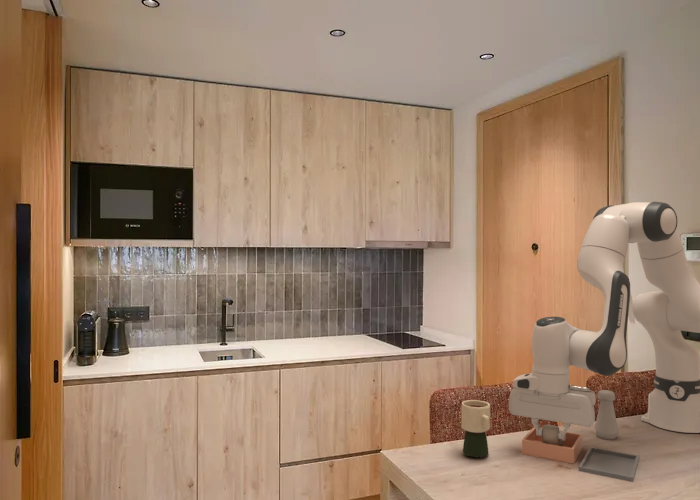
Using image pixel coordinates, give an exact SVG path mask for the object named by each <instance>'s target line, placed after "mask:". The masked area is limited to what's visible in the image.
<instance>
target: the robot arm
mask: <svg viewBox="0 0 700 500" xmlns="http://www.w3.org/2000/svg"><path fill="white" fill-rule="evenodd" d="M635 243H637V249H638V253H639V257H640V260H641V265H642V269H643V271H644V275H645V278H646V279H647V281H648V282H649V283H650V284H651V285H652V286H654V287H656V288H658V289H660V290H659V291H658V290H655V291H647V292H641V293H639V294H638V295H637V296H636V297H635V298H634V300H633V303H632V306H631V307H632V308H631V310H632V314H633V316H634V317H633V318H634V319H635V320H636V321H637V322H639V324H640V325H641V326H642V327H643V328H644V329H645V330H646V331H647V333H648V334H649V338H650V339H651V342H652V344H653V348H654V355H655V375H654V378H653V386H654V389H653V390H652V391H650V393H648V399H647V400H648V403H647V404H648V405H647V412H646V413H644V414H643V415H641V418H640V420H641V421H643V422H646V423H648V424H651V425H653V426H655V427H657V428H660V429H664V430H667V431H671V432H679V433H688V434H689V433H691V434H696V433H697V434H698V433H700V353H699V351H698V349H697V348H696V347H695V346H693V345H692V344H690V343H689V342H688V341H686V340H685V338H684V336H683V333H682V331H683V332H689V333H690V332H691V333H697V334H700V283H699V281H698V280H697V279H696V277H695V276H694V275H693V273H692V270H691V269H690V268H691V267H690V265H689V262H688V259H687V256H686V253H685V249H684V246H683V242H682V240H681V236H680V233H679V232H678V216H677V213H676V211H675V209H674V208H673V207H672V206H671V205H670V204H668V203H666V202H662V201H651V202H648V201H647V202H645V201H643V202H642V201H636V202H635V201H633V202H629V203H623V204H617V205H612V204H611V205H606V206H604V207H601V208H600V209H598V210H597V211H596V213H595V214H594V216H593V218H592V221H591V222H590V224H589V226H588V228H587V230H586V232H585V235H584V237H583V241H582V243H581V247H580V248H579V252H578V255H577V260H576V269H577V272H578V274H579V275H580V277H581V279H583V280H584V281H585V282H586V283H588V284H589V285H591V286H593V287H594V288H596V289H598V290H599V291H601V293H602V294H603V296H604V308H603V315H602V316H603V317H602V324H601V329H600V330H599V331H591V330H587V329H586V330H585V329H583V328H582V329H581V328H578V327H575V326H573V325H572V324H570V323H569V322H568V321H567V319H566V318H564V317H561V316H546V317H541V318H539V319H538V320H536V321H535V323H534V326H533V331H532V336H531V337H532V338H531V353H532V357H533V363H532V367H531V368H532V369H531V372H530V373H525V374H520V375H518V376H516V377H515V378H514V379H513V381H512V385H513V388H512V389H511V391H510V394H509V398H508V399H509V400H508V412H509V413H510V414H511V416H512V415H513V416H518V417H525V418H531V420H530V421H531V424H532V426H533V427H535V429H536V436H540V437H542V427H541V426H540V425H539V421H540V420H544V421H549V422H554V423H555V422H556V423H562V427H563V428H564V429H563V430H559V433H558V436H559V437H558V440H562V441H565V440H566V432H568V431H569V429H570V427H571V425H574V426H580V427H587V428H591V427H592V426H593V425H594V424H595V423H596V414H595V405H596V401H597V398H596V397H597V395H596V393H595V391H594V390H593V389H592V388H591V389H590V387H588V386H579V385H575V384H570V380H571V379H570V378H571V377H570V376H571V373H570V367H569V366H572V367H575V368H579V369H582V370H588V371H591V372H593V373H596V374H599V375H601V376H605V377H610V376H613V375H615V374H616V373H618V372H619V371H621V369H623V367H624V366H625V365H626V363H627V358H628V349H627V331H628V320H629V311H630V310H629V309H630V302H631V301H630V300H631V282H630V281H631V280H630V279H629V276H628V275H626V274H625V270H624V269H625V268H624V267H625V260H626V255H627V251H628V246H629V244H635ZM562 431H563V432H562Z"/></svg>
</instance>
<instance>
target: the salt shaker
mask: <svg viewBox="0 0 700 500" xmlns="http://www.w3.org/2000/svg"><path fill="white" fill-rule="evenodd" d="M597 398H598V400H599V401H600V402H599V406H598V412H597V416H596V419H595V426H594V430H595V433H596V435H597V438H598V437H599V438H600V439H603V440H615V439H616V438H617V437H618V435H619V426H618V421H617V418H616V416H617V415H616V412H615V407H614V401H615V400H616V394H615V392H614V391H612V390H607V389H600V390H599V391H597Z"/></svg>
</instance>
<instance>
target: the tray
mask: <svg viewBox="0 0 700 500" xmlns="http://www.w3.org/2000/svg"><path fill="white" fill-rule="evenodd" d="M639 462H640V455H638V454H637V455H636V454H633V453H632V454H631V453H627V452H621V451H617V450H609V449H604V448H600V447H593V446H589V447H588V449H587V451H586V453H585V454H584V456H583V458H582V460H581V462H580V463H579V465H578V472H583V473H587V474H592V475H598V476H602V477H607V478H612V479H617V480H621V481H627V482H631V483H634V479H635V476H636V472H637V469H638V465H639Z"/></svg>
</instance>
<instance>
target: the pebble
mask: <svg viewBox="0 0 700 500" xmlns="http://www.w3.org/2000/svg"><path fill="white" fill-rule="evenodd" d="M541 428H542V443H546V444H552V445H557V446H558V445H559V440H558V437H559V436H558V433H559V431H560V427H559V426H557V425H555V424H544V425H541Z"/></svg>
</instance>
